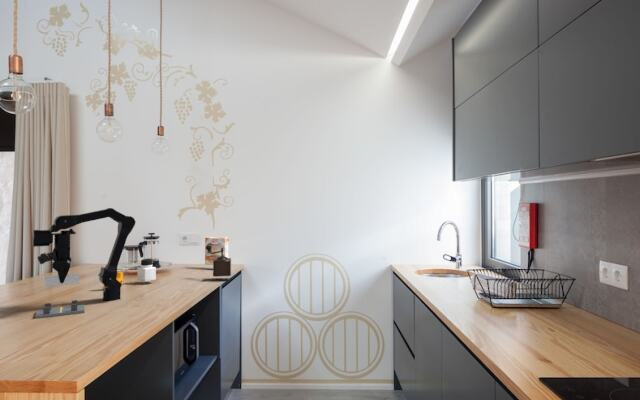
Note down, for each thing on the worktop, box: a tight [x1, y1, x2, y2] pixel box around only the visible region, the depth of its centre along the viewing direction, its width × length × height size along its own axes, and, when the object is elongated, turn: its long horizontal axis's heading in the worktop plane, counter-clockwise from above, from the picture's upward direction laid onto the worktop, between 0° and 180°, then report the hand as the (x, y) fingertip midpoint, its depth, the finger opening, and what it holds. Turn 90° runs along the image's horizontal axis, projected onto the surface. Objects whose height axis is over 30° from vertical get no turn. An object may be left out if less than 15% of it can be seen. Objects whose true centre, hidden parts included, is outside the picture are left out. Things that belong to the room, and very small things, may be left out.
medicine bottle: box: [137, 258, 157, 283], centre depth 224 cm, size 7×7×12 cm
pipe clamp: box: [103, 271, 124, 290], centre depth 208 cm, size 12×4×6 cm, turn 172°
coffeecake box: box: [204, 236, 230, 266], centre depth 280 cm, size 15×7×20 cm, turn 81°
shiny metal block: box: [43, 272, 80, 288], centre depth 167 cm, size 12×4×4 cm, turn 128°
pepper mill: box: [206, 245, 232, 278], centre depth 240 cm, size 16×11×18 cm
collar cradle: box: [34, 299, 85, 320], centre depth 157 cm, size 16×10×4 cm, turn 121°
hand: (62, 282), depth 167 cm, fingers closed on shiny metal block, 4 cm apart
